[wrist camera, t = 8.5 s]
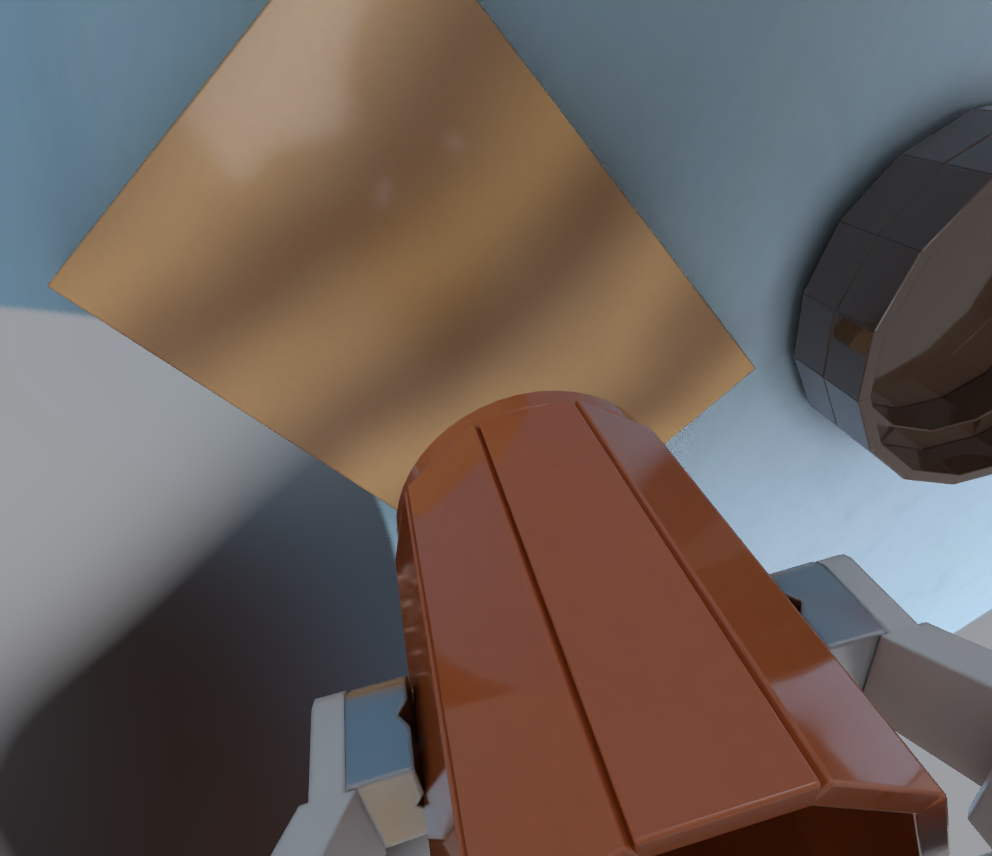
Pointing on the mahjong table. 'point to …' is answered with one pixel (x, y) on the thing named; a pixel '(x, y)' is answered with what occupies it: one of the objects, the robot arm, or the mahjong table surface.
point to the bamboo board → (393, 243)
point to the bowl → (911, 311)
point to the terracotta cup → (624, 661)
